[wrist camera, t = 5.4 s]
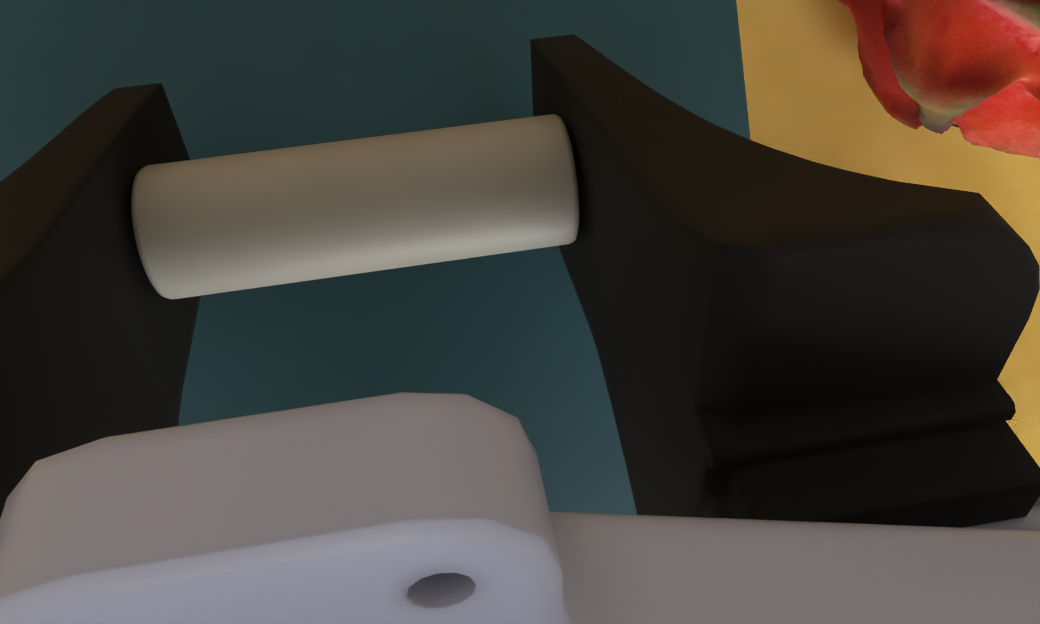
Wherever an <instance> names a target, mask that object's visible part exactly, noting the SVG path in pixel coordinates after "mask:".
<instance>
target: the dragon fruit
mask: <svg viewBox="0 0 1040 624" xmlns="http://www.w3.org/2000/svg"><path fill="white" fill-rule="evenodd" d="M837 1H839V2H841V3H842V4H843V5H844V6H845V7H846V8H847V9H848V10H849V11H850V12H851V14H852V16H853V17H854V19H855V22H856V25H857V33H858V52H859V59H860V61H861V64H862V67H863V75H864V77H865V79H866V81H867V83H868V85H869V87H870V88H871V90H872V91H873V93H874V95H875V96H876V97H877V99H878V100H879V102H880V103H881V104H882V105H883V107H884V109H885V110H886V111H887V113H889V114H890V115H891V116H892V117H893V118H895V119H896V120H898V121H899V122H901V123H903V124H905V125H906V126H908V127H911V128H913V129H917V128H918V127H920V126H921V125H923V126H924V127H925V128H927V129H929V130H931V131H934V132H936V133H940V134H942V133H943V132H944V131H947V130H948V129H949V128H950V127H951V126H954V127H959V128H960V130H961V132H962V134H963V137H964V139H965V140H966V141H968V142H969V143H971V144H972V145H978V146H985V147H990V148H993V149H995V150H999V151H1003V152H1006V153H1010V154H1016V155H1024V156H1029V157H1036V158H1040V0H837Z"/></svg>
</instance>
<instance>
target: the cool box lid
mask: <svg viewBox="0 0 1040 624" xmlns="http://www.w3.org/2000/svg"><path fill="white" fill-rule="evenodd" d="M571 34H574V35H575V36H577V37H579V38H580V39H582V40H583V41H585V42H586V43H588V44H589V45H590V46H592V47H593V48H594V49H596V50H597V51H599V52H600V53H601V54H603V55H604V56H605V57H607V58H608V59H610V60H611V61H612V62H614V63H615V64H616V65H618V66H619V67H621V68H622V69H624V70H625V71H626V72H628V73H629V74H631V75H632V76H634V77H635V78H637V79H638V80H639V81H641V82H642V83H644V84H645V85H647V86H649V87H650V88H652V89H653V90H655V91H656V92H658V93H660V94H661V95H663V96H664V97H666V98H668V99H669V100H671V101H673V102H674V103H676V104H678V105H680V106H682V107H683V108H685V109H687V110H689V111H690V112H692V113H694V114H696V115H697V116H699V117H701V118H703V119H705V120H707V121H709V122H711V123H713V124H715V125H717V126H720V127H722V128H724V129H726V130H729V131H731V132H733V133H735V134H738V135H740V136H742V137H745V138H747V139H749V140H750V131H749V122H748V112H747V102H746V92H745V83H744V73H743V63H742V54H741V44H740V34H739V24H738V15H737V5H736V0H0V182H1V181H2V180H3V179H4V178H6V177H7V176H8V175H10V174H11V173H12V172H13V171H15V170H16V169H17V168H19V167H20V166H21V165H22V164H24V163H25V162H26V161H27V160H28V159H30V158H31V157H32V156H33V155H34V154H36V153H37V152H38V151H39V150H40V149H41V148H42V147H44V146H45V145H46V144H47V143H48V142H49V141H51V140H52V139H53V138H54V137H55V136H56V135H58V134H59V133H60V132H61V131H62V130H63V129H65V128H66V127H67V126H68V125H69V124H70V123H71V122H73V121H74V120H75V119H76V118H77V117H78V116H80V115H81V114H82V113H83V112H84V111H85V110H87V109H88V108H89V107H90V106H91V105H93V104H94V103H95V102H96V101H98V100H99V99H100V98H101V97H103V96H104V95H106V94H107V93H109V92H110V91H112V90H113V89H115V88H122V87H131V86H139V85H148V84H156V83H162V85H163V88H164V90H165V93H166V96H167V98H168V101H169V104H170V106H171V109H172V112H173V115H174V117H175V120H176V123H177V125H178V128H179V131H180V133H181V136H182V139H183V141H184V144H185V147H186V149H187V152H188V155H189V157H190V160H186V161H179V162H171V163H163V164H155V165H147V166H145V167H143V168H142V169H140V170H139V171H138V172H137V174H136V176H135V178H134V182H133V187H132V199H131V212H132V223H133V230H134V236H135V241H136V245H137V249H138V252H139V256H140V259H141V262H142V264H143V267H144V269H145V272H146V274H147V276H148V278H149V280H150V282H151V284H152V285H153V287H154V288H155V290H156V291H157V292H158V293H159V294H160V295H161V296H163V297H165V298H169V299H180V298H187V297H194V296H201V297H200V302H199V307H198V313H197V318H196V323H195V328H194V333H193V338H192V344H191V349H190V354H189V359H188V364H187V369H186V375H185V380H184V385H183V391H182V398H181V405H180V413H179V424H178V426H183V425H189V424H196V423H202V422H209V421H216V420H222V419H229V418H235V417H242V416H249V415H255V414H262V413H268V412H275V411H281V410H288V409H295V408H301V407H308V406H314V405H321V404H328V403H334V402H341V401H347V400H354V399H361V398H367V397H374V396H380V395H387V394H394V393H400V392H411V393H456V394H466V395H469V396H471V397H474V398H476V399H478V400H480V401H482V402H484V403H487V404H489V405H491V406H493V407H495V408H498V409H500V410H502V411H504V412H506V413H508V414H511V415H513V416H515V417H517V418H518V419H519V421H520V423H521V424H522V426H523V428H524V430H525V432H526V434H527V436H528V438H529V440H530V442H531V443H532V445H533V447H534V449H535V451H536V453H537V457H538V462H539V467H540V471H541V476H542V480H543V485H544V490H545V494H546V499H547V503H548V508H549V512H575V513H601V514H626V515H637V512H636V507H635V503H634V498H633V494H632V489H631V485H630V481H629V476H628V472H627V467H626V463H625V459H624V455H623V451H622V447H621V442H620V438H619V434H618V430H617V426H616V422H615V418H614V413H613V409H612V405H611V401H610V398H609V394H608V390H607V386H606V382H605V378H604V374H603V370H602V366H601V362H600V359H599V355H598V351H597V348H596V345H595V342H594V339H593V336H592V333H591V330H590V327H589V325H588V322H587V319H586V317H585V314H584V312H583V309H582V306H581V304H580V301H579V299H578V296H577V294H576V291H575V288H574V286H573V283H572V281H571V278H570V276H569V273H568V270H567V268H566V265H565V263H564V260H563V257H562V255H561V252H560V250H559V247H558V246H559V245H566V244H570V243H572V242H574V241H575V240H576V237H577V233H578V228H579V191H578V181H577V173H576V166H575V160H574V154H573V149H572V145H571V141H570V137H569V134H568V131H567V128H566V126H565V124H564V122H563V120H562V118H561V117H560V116H558V115H555V114H550V115H542V116H534V117H533V100H532V73H531V47H530V39H537V38H546V37H554V36H563V35H571Z"/></svg>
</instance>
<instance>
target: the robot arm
mask: <svg viewBox="0 0 1040 624" xmlns="http://www.w3.org/2000/svg"><path fill="white" fill-rule="evenodd" d="M530 47H531V73H532V100H533V117H534V116H542V115H550V114H555V115H558V116H560V117H561V118H562V120H563V122H564V124H565V126H566V128H567V131H568V134H569V137H570V141H571V145H572V149H573V154H574V160H575V166H576V173H577V181H578V191H579V228H578V233H577V237H576V240H575V241H574V242H572V243H570V244H566V245H559V246H558V247H559V250H560V252H561V255H562V257H563V260H564V263H565V265H566V268H567V270H568V273H569V276H570V278H571V281H572V283H573V286H574V288H575V291H576V294H577V296H578V299H579V301H580V304H581V306H582V309H583V312H584V314H585V317H586V319H587V322H588V325H589V327H590V330H591V333H592V336H593V339H594V342H595V345H596V348H597V351H598V355H599V359H600V362H601V366H602V370H603V374H604V378H605V382H606V386H607V390H608V394H609V398H610V401H611V405H612V409H613V413H614V418H615V422H616V426H617V430H618V434H619V438H620V442H621V447H622V451H623V455H624V459H625V463H626V467H627V472H628V476H629V481H630V485H631V489H632V494H633V498H634V503H635V507H636V512H637V515H626V514H601V513H575V512H549V508H548V503H547V499H546V494H545V490H544V485H543V480H542V476H541V471H540V467H539V462H538V457H537V453H536V451H535V449H534V447H533V445H532V443H531V442H530V440H529V438H528V436H527V434H526V432H525V430H524V428H523V426H522V424H521V423H520V421H519V419H518V418H517V417H515V416H513V415H511V414H508V413H506V412H504V411H502V410H500V409H498V408H495V407H493V406H491V405H489V404H487V403H484V402H482V401H480V400H478V399H476V398H474V397H471V396H469V395H466V394H456V393H411V392H400V393H394V394H387V395H380V396H374V397H367V398H361V399H354V400H347V401H341V402H334V403H328V404H321V405H314V406H308V407H301V408H295V409H288V410H281V411H275V412H268V413H262V414H255V415H249V416H242V417H235V418H229V419H222V420H216V421H209V422H202V423H196V424H189V425H183V426H178V424H179V413H180V405H181V398H182V391H183V385H184V380H185V375H186V369H187V364H188V359H189V354H190V349H191V344H192V338H193V333H194V328H195V323H196V318H197V313H198V307H199V302H200V297H201V296H194V297H187V298H180V299H169V298H165V297H163V296H161V295H160V294H159V293H158V292H157V291H156V290H155V288H154V287H153V285H152V284H151V282H150V280H149V278H148V276H147V274H146V272H145V269H144V267H143V264H142V262H141V259H140V256H139V252H138V249H137V245H136V241H135V236H134V230H133V223H132V212H131V199H132V187H133V182H134V178H135V176H136V174H137V172H138V171H139V170H140V169H142V168H143V167H145V166H147V165H155V164H163V163H171V162H179V161H186V160H190V157H189V155H188V152H187V149H186V147H185V144H184V141H183V139H182V136H181V133H180V131H179V128H178V125H177V123H176V120H175V117H174V115H173V112H172V109H171V106H170V104H169V101H168V98H167V96H166V93H165V90H164V88H163V85H162V83H156V84H148V85H139V86H131V87H122V88H115V89H113V90H112V91H110V92H109V93H107V94H106V95H104V96H103V97H101V98H100V99H99V100H98V101H96V102H95V103H94V104H93V105H91V106H90V107H89V108H88V109H87V110H85V111H84V112H83V113H82V114H81V115H80V116H78V117H77V118H76V119H75V120H74V121H73V122H71V123H70V124H69V125H68V126H67V127H66V128H65V129H63V130H62V131H61V132H60V133H59V134H58V135H56V136H55V137H54V138H53V139H52V140H51V141H49V142H48V143H47V144H46V145H45V146H44V147H42V148H41V149H40V150H39V151H38V152H37V153H36V154H34V155H33V156H32V157H31V158H30V159H28V160H27V161H26V162H25V163H24V164H22V165H21V166H20V167H19V168H17V169H16V170H15V171H13V172H12V173H11V174H10V175H8V176H7V177H6V178H4V179H3V180H2V181H1V182H0V624H1040V468H1039V466H1038V465H1037V463H1036V462H1035V461H1034V459H1033V458H1032V457H1031V455H1030V454H1029V452H1028V451H1027V450H1026V448H1025V447H1024V446H1023V444H1022V443H1021V442H1020V440H1019V439H1018V437H1017V436H1016V435H1015V433H1014V432H1013V431H1012V429H1011V428H1010V426H1009V425H1008V424H1007V422H1006V420H1011V419H1012V417H1013V416H1014V414H1015V412H1016V410H1015V404H1014V402H1013V400H1012V399H1011V398H1010V396H1009V395H1008V394H1007V392H1006V391H1005V390H1004V388H1003V387H1002V386H1001V384H1000V383H999V382H998V380H997V378H998V377H999V375H1000V373H1001V371H1002V369H1003V367H1004V365H1005V363H1006V361H1007V359H1008V357H1009V355H1010V354H1011V352H1012V350H1013V348H1014V346H1015V344H1016V342H1017V340H1018V338H1019V336H1020V334H1021V333H1022V331H1023V329H1024V327H1025V325H1026V323H1027V321H1028V319H1029V317H1030V314H1031V312H1032V309H1033V306H1034V303H1035V300H1036V298H1037V295H1038V292H1039V289H1040V283H1039V264H1038V263H1037V261H1036V259H1035V257H1034V255H1033V253H1032V251H1031V249H1030V247H1029V246H1028V245H1027V244H1026V243H1025V242H1024V240H1023V239H1022V238H1021V237H1020V236H1019V235H1018V234H1017V233H1016V232H1015V231H1014V230H1013V229H1012V228H1011V226H1010V225H1009V224H1008V223H1007V222H1006V221H1005V220H1004V219H1003V218H1002V217H1001V216H1000V215H999V214H998V212H997V211H996V210H995V209H994V208H993V207H992V206H991V205H990V204H989V203H988V202H987V201H986V200H985V199H984V198H983V197H982V196H981V195H980V194H979V193H975V192H968V191H961V190H953V189H946V188H939V187H932V186H925V185H918V184H911V183H904V182H897V181H892V180H887V179H882V178H878V177H873V176H869V175H864V174H860V173H855V172H851V171H846V170H842V169H838V168H834V167H831V166H827V165H823V164H819V163H816V162H812V161H809V160H806V159H803V158H800V157H797V156H794V155H791V154H788V153H785V152H782V151H778V150H775V149H773V148H770V147H767V146H765V145H762V144H759V143H757V142H754V141H751V140H749V139H747V138H745V137H742V136H740V135H738V134H735V133H733V132H731V131H729V130H726V129H724V128H722V127H720V126H717V125H715V124H713V123H711V122H709V121H707V120H705V119H703V118H701V117H699V116H697V115H696V114H694V113H692V112H690V111H689V110H687V109H685V108H683V107H682V106H680V105H678V104H676V103H674V102H673V101H671V100H669V99H668V98H666V97H664V96H663V95H661V94H660V93H658V92H656V91H655V90H653V89H652V88H650V87H649V86H647V85H645V84H644V83H642V82H641V81H639V80H638V79H637V78H635V77H634V76H632V75H631V74H629V73H628V72H626V71H625V70H624V69H622V68H621V67H619V66H618V65H616V64H615V63H614V62H612V61H611V60H610V59H608V58H607V57H605V56H604V55H603V54H601V53H600V52H599V51H597V50H596V49H594V48H593V47H592V46H590V45H589V44H588V43H586V42H585V41H583V40H582V39H580V38H579V37H577V36H575V35H574V34H571V35H563V36H554V37H546V38H537V39H530Z"/></svg>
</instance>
